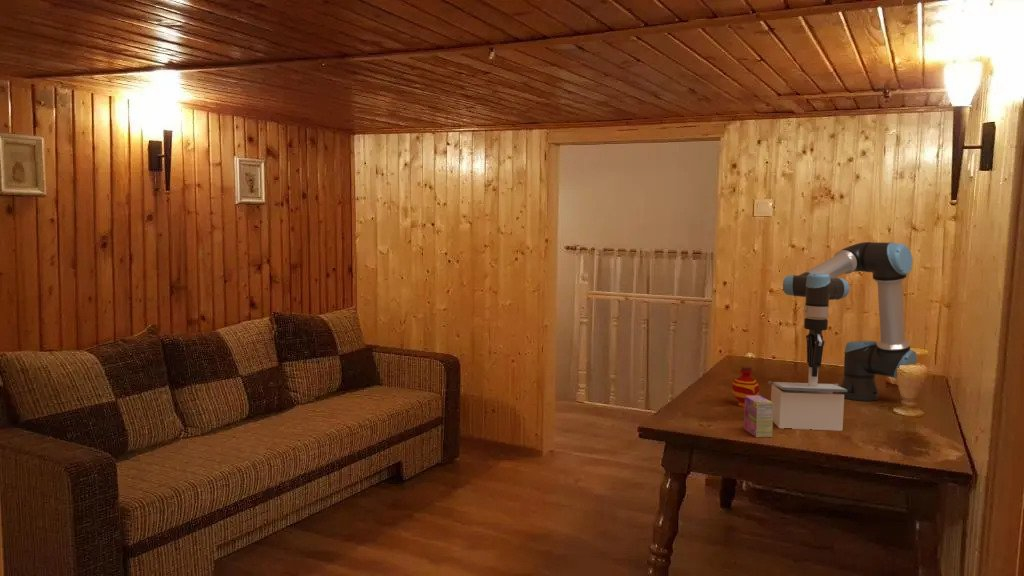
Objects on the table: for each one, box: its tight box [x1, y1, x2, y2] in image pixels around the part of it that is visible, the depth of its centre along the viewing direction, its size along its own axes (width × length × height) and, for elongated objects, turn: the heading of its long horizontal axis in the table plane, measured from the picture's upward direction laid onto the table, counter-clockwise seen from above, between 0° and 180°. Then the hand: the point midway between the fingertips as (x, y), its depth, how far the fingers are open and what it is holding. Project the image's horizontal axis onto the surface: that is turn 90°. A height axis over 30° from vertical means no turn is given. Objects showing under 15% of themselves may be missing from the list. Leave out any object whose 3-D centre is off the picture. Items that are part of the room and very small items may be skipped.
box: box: [743, 395, 774, 438], centre depth 256 cm, size 10×6×12 cm, turn 5°
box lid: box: [772, 381, 847, 393], centre depth 266 cm, size 21×14×1 cm
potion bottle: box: [730, 365, 760, 408], centre depth 295 cm, size 10×10×15 cm
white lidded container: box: [767, 380, 845, 432], centre depth 268 cm, size 24×14×14 cm, turn 85°
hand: (812, 385), depth 266 cm, fingers closed
